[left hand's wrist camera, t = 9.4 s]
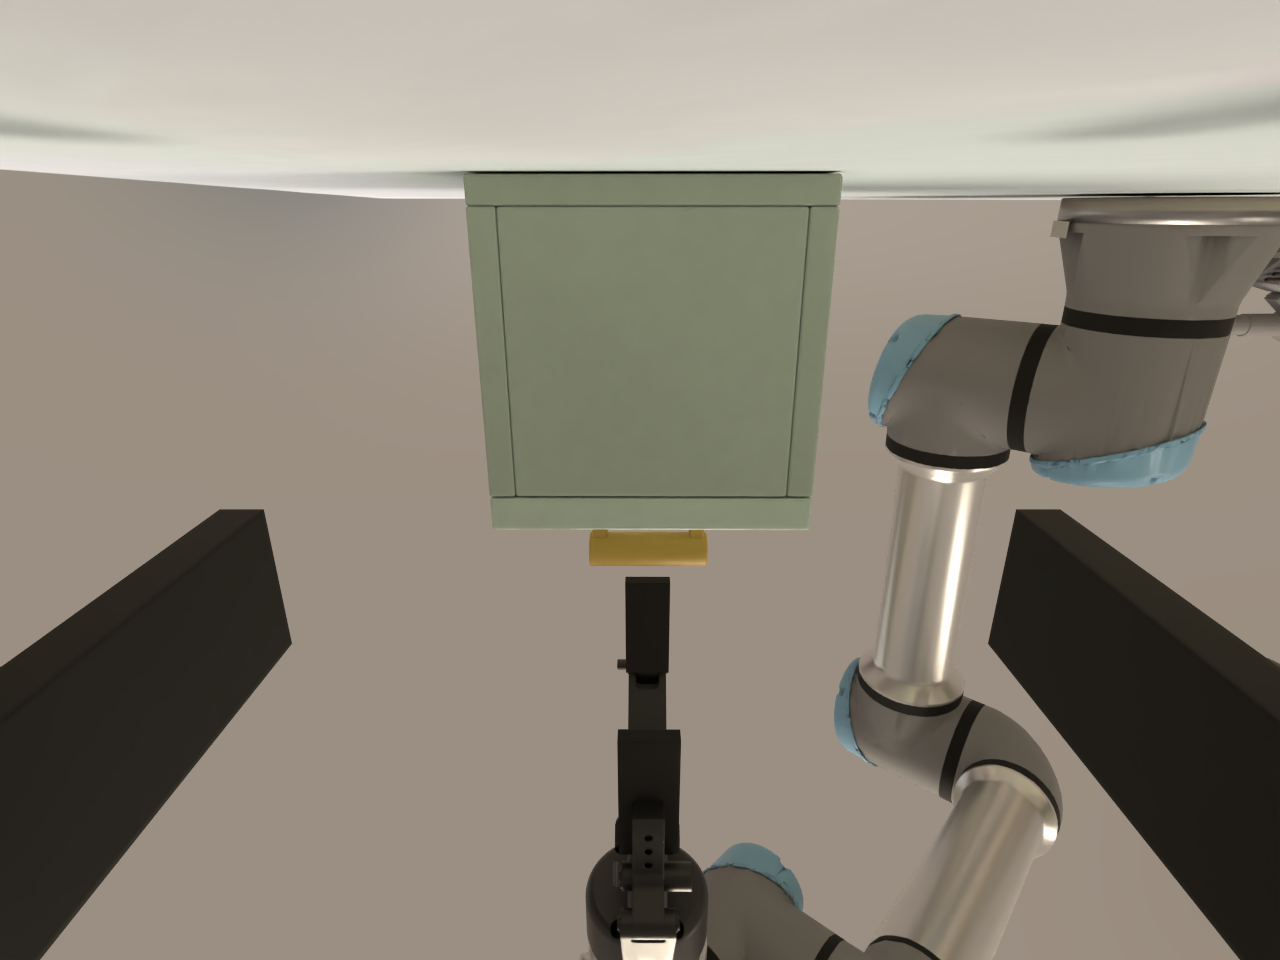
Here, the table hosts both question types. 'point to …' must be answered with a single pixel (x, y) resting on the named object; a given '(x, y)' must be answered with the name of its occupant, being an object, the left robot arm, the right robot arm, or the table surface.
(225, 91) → the table surface
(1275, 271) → the toy
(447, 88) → the table surface
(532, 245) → the chest
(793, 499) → the lid
